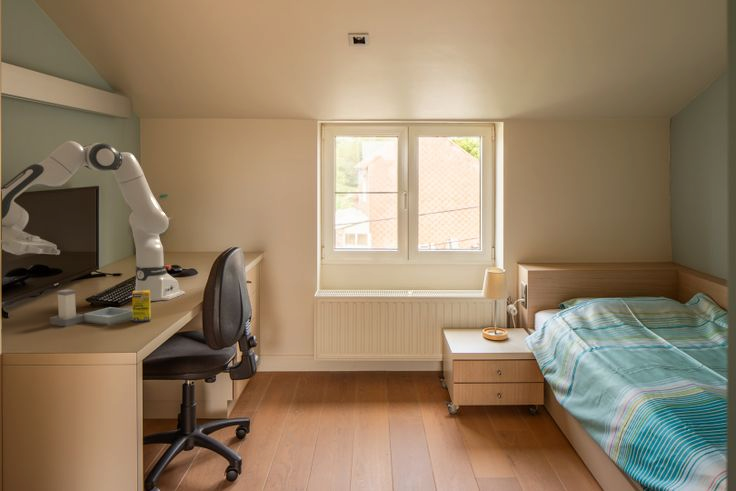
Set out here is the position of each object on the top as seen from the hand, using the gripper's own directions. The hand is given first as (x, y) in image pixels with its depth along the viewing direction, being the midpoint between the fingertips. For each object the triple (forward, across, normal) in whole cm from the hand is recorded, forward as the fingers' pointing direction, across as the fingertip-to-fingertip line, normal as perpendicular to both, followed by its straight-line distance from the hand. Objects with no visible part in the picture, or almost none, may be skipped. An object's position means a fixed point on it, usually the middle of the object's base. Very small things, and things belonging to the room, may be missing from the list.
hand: (49, 252), depth 229 cm
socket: (+14, +3, +23) cm, 27 cm away
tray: (+25, +9, +19) cm, 33 cm away
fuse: (+14, +2, +23) cm, 27 cm away
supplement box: (+37, +11, +16) cm, 41 cm away
